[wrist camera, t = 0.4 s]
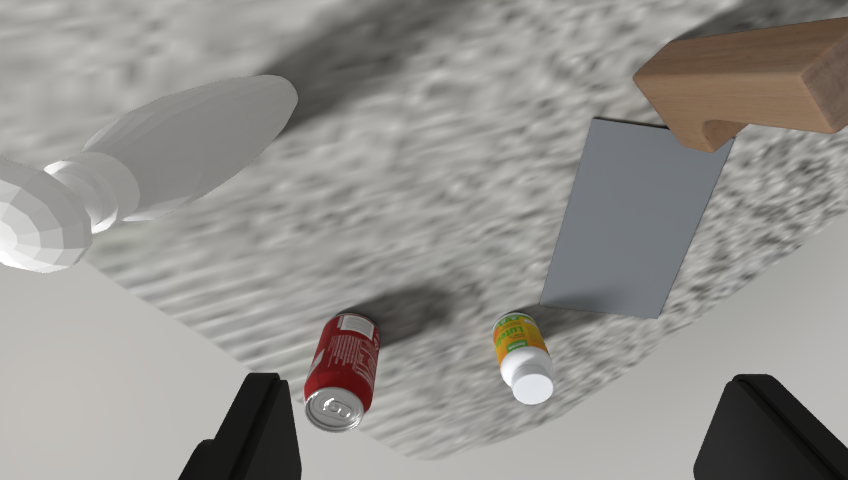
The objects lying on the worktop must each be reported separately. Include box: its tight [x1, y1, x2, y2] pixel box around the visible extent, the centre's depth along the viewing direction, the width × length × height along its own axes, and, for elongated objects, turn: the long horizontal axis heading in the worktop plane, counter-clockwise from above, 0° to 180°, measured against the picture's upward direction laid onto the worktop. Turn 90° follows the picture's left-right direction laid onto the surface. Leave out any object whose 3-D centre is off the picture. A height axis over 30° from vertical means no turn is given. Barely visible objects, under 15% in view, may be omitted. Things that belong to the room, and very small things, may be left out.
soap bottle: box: [0, 75, 298, 273], centre depth 29 cm, size 14×8×27 cm, turn 120°
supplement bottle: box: [492, 313, 553, 404], centre depth 47 cm, size 5×5×10 cm
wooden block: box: [633, 17, 848, 153], centre depth 32 cm, size 9×4×18 cm, turn 45°
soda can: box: [303, 313, 380, 433], centre depth 46 cm, size 7×7×12 cm
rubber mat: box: [539, 118, 734, 319], centre depth 46 cm, size 21×14×1 cm, turn 172°
